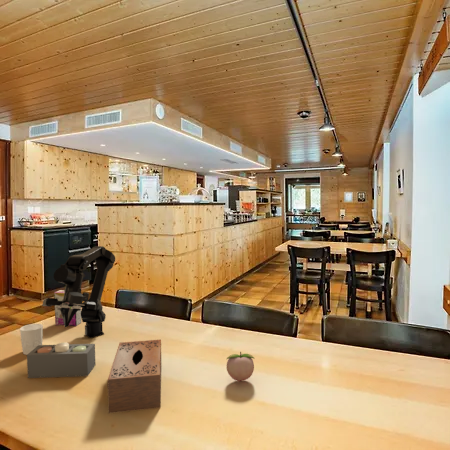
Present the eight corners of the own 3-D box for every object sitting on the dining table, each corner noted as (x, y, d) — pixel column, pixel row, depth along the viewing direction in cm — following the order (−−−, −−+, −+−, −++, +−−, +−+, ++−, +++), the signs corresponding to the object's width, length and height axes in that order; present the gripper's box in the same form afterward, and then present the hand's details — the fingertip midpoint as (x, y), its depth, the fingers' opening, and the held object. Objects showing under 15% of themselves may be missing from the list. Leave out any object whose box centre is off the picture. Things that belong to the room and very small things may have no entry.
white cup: (26, 357, 130) (25, 332, 129) (17, 352, 135) (16, 327, 134) (47, 350, 136) (46, 326, 136) (38, 345, 141) (37, 322, 140)
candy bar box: (54, 325, 164) (53, 292, 163) (60, 322, 169) (59, 289, 168) (76, 326, 163) (75, 292, 162) (82, 322, 168) (80, 290, 167)
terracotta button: (41, 359, 121) (41, 346, 120) (54, 358, 121) (53, 346, 121) (35, 364, 116) (34, 352, 116) (48, 364, 117) (48, 351, 116)
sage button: (76, 358, 121) (75, 345, 121) (88, 357, 122) (88, 345, 121) (71, 363, 117) (70, 351, 117) (84, 363, 117) (83, 350, 117)
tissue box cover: (120, 369, 121) (119, 342, 120) (161, 366, 123) (160, 339, 122) (108, 414, 95) (107, 379, 95) (160, 408, 98) (159, 374, 97)
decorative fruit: (231, 390, 106) (230, 359, 106) (224, 377, 114) (223, 348, 113) (258, 386, 109) (258, 355, 108) (250, 373, 117) (250, 345, 116)
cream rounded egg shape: (58, 354, 121) (58, 342, 121) (71, 354, 121) (70, 342, 121) (53, 360, 117) (52, 347, 116) (66, 360, 117) (65, 347, 116)
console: (39, 366, 123) (38, 345, 122) (95, 364, 124) (94, 343, 123) (27, 377, 115) (26, 355, 114) (87, 376, 116) (87, 353, 115)
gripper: (53, 281, 124) (44, 325, 119) (103, 287, 135) (97, 328, 130) (46, 284, 132) (37, 325, 127) (94, 290, 143) (87, 328, 138)
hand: (66, 327), depth 130 cm, fingers closed
